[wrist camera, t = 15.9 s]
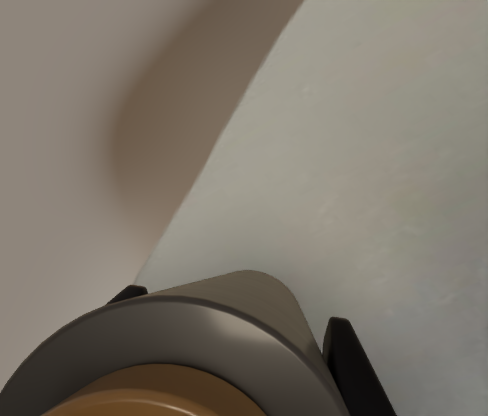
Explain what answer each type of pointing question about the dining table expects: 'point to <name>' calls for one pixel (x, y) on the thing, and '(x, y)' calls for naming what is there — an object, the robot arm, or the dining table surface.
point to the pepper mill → (182, 357)
